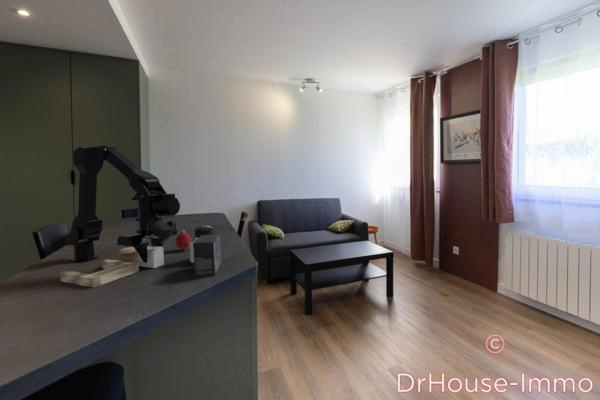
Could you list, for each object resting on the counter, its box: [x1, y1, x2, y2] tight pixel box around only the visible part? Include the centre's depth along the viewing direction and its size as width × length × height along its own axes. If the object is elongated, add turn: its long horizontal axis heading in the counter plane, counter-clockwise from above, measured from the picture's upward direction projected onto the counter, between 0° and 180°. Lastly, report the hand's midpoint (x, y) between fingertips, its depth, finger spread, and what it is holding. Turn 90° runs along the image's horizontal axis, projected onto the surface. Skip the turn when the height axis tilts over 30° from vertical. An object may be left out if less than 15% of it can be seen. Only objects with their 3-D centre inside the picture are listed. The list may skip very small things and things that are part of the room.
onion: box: [175, 230, 192, 251], centre depth 116 cm, size 6×6×8 cm
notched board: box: [59, 258, 140, 288], centre depth 88 cm, size 14×14×2 cm
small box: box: [192, 233, 223, 277], centre depth 92 cm, size 11×6×10 cm, turn 5°
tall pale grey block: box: [137, 245, 165, 269], centre depth 97 cm, size 7×4×6 cm, turn 68°
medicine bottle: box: [189, 225, 214, 264], centre depth 102 cm, size 7×7×12 cm
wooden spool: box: [118, 246, 138, 263], centre depth 99 cm, size 6×6×5 cm
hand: (151, 260), depth 97 cm, fingers closed on tall pale grey block, 4 cm apart
